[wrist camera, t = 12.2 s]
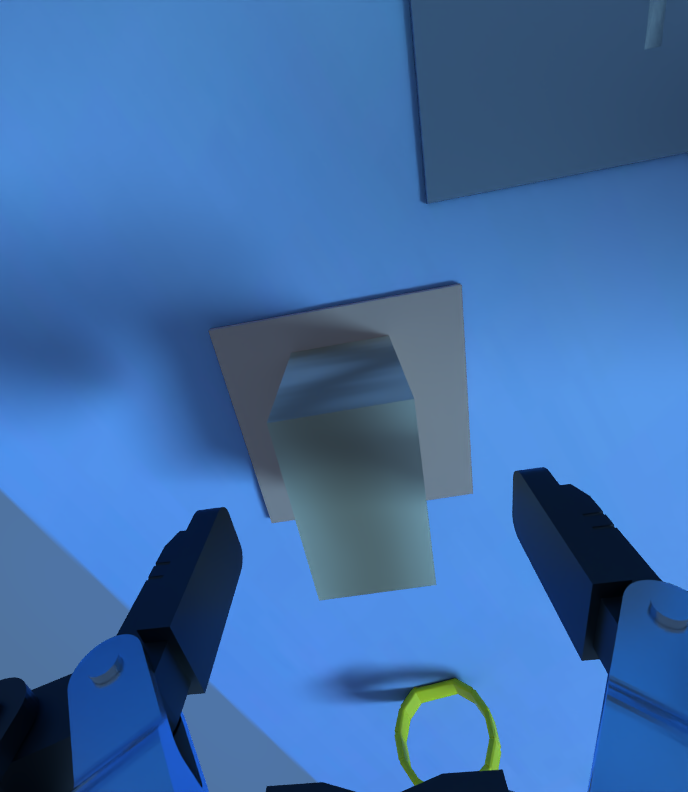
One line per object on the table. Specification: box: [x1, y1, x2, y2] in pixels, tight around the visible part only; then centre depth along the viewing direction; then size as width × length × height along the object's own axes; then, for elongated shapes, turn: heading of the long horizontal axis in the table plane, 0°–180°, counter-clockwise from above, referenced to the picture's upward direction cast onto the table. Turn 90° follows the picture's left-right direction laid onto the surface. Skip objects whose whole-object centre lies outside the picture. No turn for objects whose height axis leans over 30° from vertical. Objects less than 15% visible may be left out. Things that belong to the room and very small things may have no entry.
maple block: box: [267, 335, 436, 600], centre depth 15 cm, size 4×7×6 cm, turn 10°
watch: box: [395, 678, 501, 786], centre depth 24 cm, size 6×3×6 cm, turn 112°
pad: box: [209, 284, 473, 523], centre depth 18 cm, size 10×10×1 cm
